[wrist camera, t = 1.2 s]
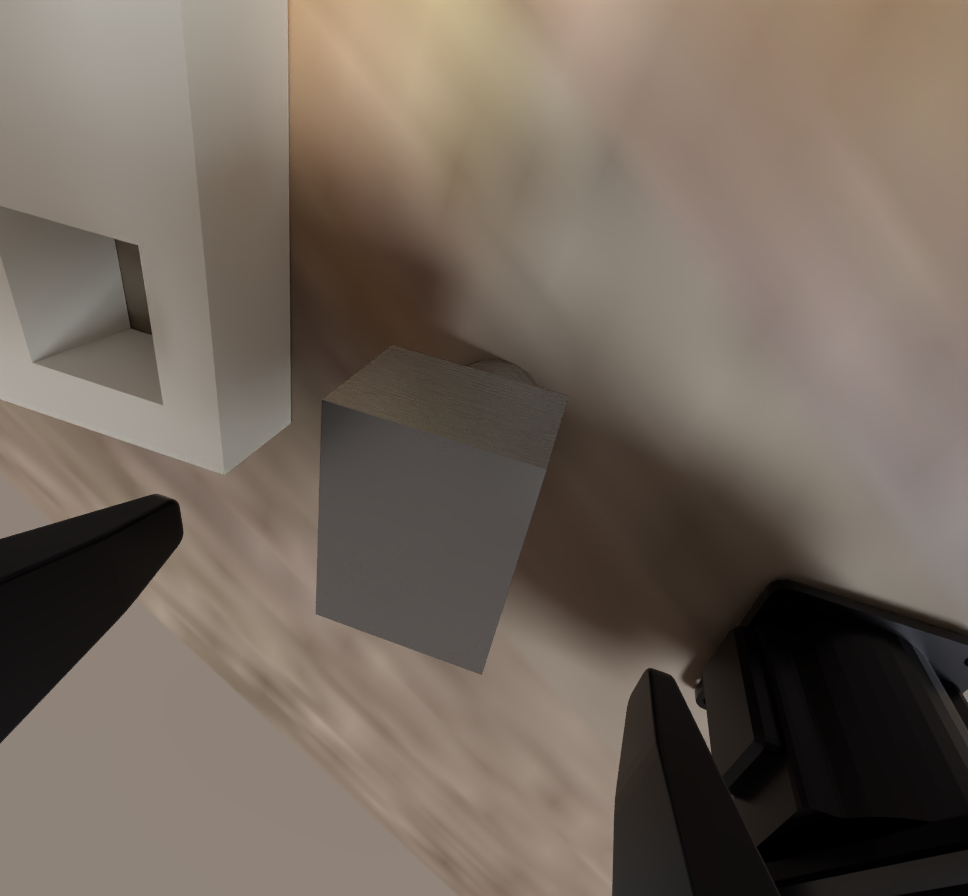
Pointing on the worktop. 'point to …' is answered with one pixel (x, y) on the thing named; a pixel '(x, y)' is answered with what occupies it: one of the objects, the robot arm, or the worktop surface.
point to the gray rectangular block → (429, 498)
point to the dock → (147, 219)
